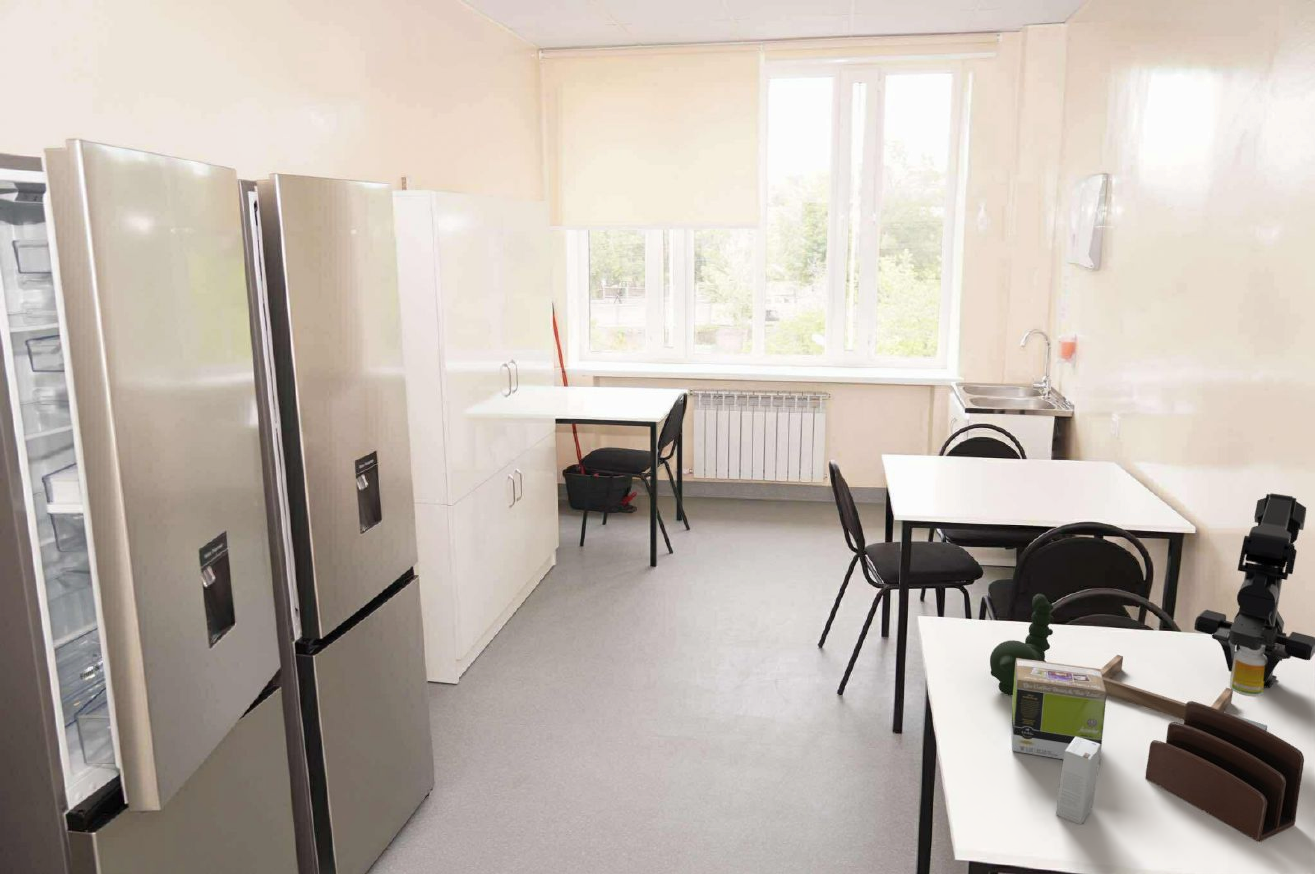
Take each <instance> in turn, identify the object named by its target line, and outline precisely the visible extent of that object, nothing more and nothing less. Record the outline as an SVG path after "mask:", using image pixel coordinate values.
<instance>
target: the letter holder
mask: <svg viewBox="0 0 1315 874" xmlns="http://www.w3.org/2000/svg"><path fill="white" fill-rule="evenodd" d="M1228 713H1229V712H1226V711H1225V712H1223V711H1220V710H1218V709H1215V708H1212V707H1211V706H1210V705H1206V704H1202V703H1200V702H1197V701H1193V700H1189V701H1187V702H1186V707H1185V717H1184V720H1183V723H1181V722H1179V721H1171V722H1170V723H1168V725H1167V732H1166V737H1165V738H1166V740H1165V742H1163V741H1160V740H1157V739H1156V740H1152V741H1151V742H1150V744H1149V750H1148V756H1147V757H1148V758H1147V764H1146V769H1145V776H1144V777H1145V779H1146V780H1148V781H1149V782H1151V783H1153V784H1155V785H1156V786H1159V787H1160V788H1162V789H1164V790H1165V791H1167V792H1169V793H1171V794H1173V795H1174V796H1176V797H1178V798H1179V799H1181V800H1183V801H1185V802H1187V803H1188V804H1190V805H1192V806H1194V807H1195V808H1197V809H1199V810H1201V811H1202V812H1205V813H1207V814H1208V815H1210V816H1211V817H1214V818H1215V819H1217V820H1219V821H1220V822H1221V823H1222V822H1223V823H1224V824H1226V825H1227V826H1229V827H1232V828H1233V829H1235V830H1237V831H1238V832H1240V833H1242V834H1244V835H1246V836H1247V837H1249V838H1251V839H1252V840H1254V841H1256V842H1258V843H1261V842H1263V841H1264V840H1266V839H1269V838H1271V837H1272V836H1273V837H1274V836H1275V835H1277V834H1278V833H1282V832H1283V831H1285V830H1288V829H1289V828H1292V827H1293V826H1295V823H1296V819H1297V812H1298V803H1299V797H1300V790H1301V785H1302V784H1301V783H1302V777H1303V772H1304V771H1303V770H1304V766H1305V765H1304V764H1305V756H1304V754H1303V753H1302V751H1301V750H1300V749H1298V748H1297V747H1295V746H1294V745H1292V744H1290V743H1288V742H1287V741H1285V740H1284V739H1282V738H1280V737H1278V736H1276V735H1274V734H1273V733H1271V732H1269V731H1268V730H1267V731H1265V730H1263V729H1261V728H1259V727H1257V726H1255V725H1253V724H1251V723H1249V722H1247V721H1244V720H1242V719H1240V718H1237V717H1235V716H1233V715H1234V714H1233V715H1230V714H1231V713H1229V714H1228Z"/></svg>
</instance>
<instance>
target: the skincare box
mask: <svg viewBox="0 0 1315 874" xmlns="http://www.w3.org/2000/svg"><path fill="white" fill-rule="evenodd" d="M1100 751H1101V752H1102V746H1101V744H1099V743H1096V742H1093V741H1089V740H1086V739H1083V738H1080V737H1075V738H1074V739H1073V740H1072V742H1071V743H1070V745H1069V746H1068V747H1067V749H1066V750H1065V752H1064V759H1062V761H1063V762H1062V767H1061V771H1060V772H1061V774H1060V781H1059V790H1058V796H1057V802H1056V809H1055V815H1057V816H1059V817H1060V818H1063V819H1065V820H1068V821H1070V822H1074V823H1076V824H1079V825H1083V823H1084V821H1085V819H1086V818H1087V816H1088V815H1089V813H1090V812H1091V811H1092V809H1093V806H1094V800H1095V793H1096V788H1097V787H1096V786H1097V779H1098V770H1099V766H1100V764H1099V759H1100V760H1101V756H1100Z"/></svg>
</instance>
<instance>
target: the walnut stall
mask: <svg viewBox="0 0 1315 874" xmlns="http://www.w3.org/2000/svg"><path fill="white" fill-rule="evenodd" d="M1123 662H1124V656H1123V655H1119V654H1116V655H1115V656H1114V657H1113V658H1112V659H1111V660H1109V661H1108V662H1107V663H1106V664H1105V665H1104V666H1103V667H1102V668H1099V669H1100V672H1101V675H1102V679H1103V683H1104V686H1105V690H1106V696H1107V695H1108V696H1110V697H1114V698H1117V699H1119V700H1122V701H1126V702H1128V703H1131V704H1134V705H1137V706H1140V707H1142V708H1147V709H1149V710H1153V711H1156V712H1159V713H1161V714H1164V715H1168V716H1171V717H1174V718H1176V719H1179V720H1182V721H1184V717H1185V707H1186V704H1187V702H1186V703H1185V702H1182V701H1180V700H1176V699H1173V698H1171V697H1167V696H1164V695H1160V694H1157V693H1154V692H1151V691H1149V690H1145V689H1142V688H1138V687H1135V686H1133V685H1130V684H1126V683H1124V682H1123V683H1122V682H1121V681H1120V682H1119V681H1117V680H1114V679H1113V678H1114V677H1115V676H1116V675H1117V674H1118V673H1119V672H1120V671H1122V668H1123ZM1233 694H1234V691H1233V690H1232V689H1231V688H1230V687H1225V689H1224V690H1223V691H1222V693H1220V695H1219V696H1218V698H1216V700H1215V701H1214V702H1213V703H1212V704H1211V706H1210V707H1212V708H1215V709H1218V710H1220V711H1223V712H1225V713H1226V710H1227V709H1228V708H1229V707H1228V706H1230V705H1231V704H1232V701H1233V700H1232V699H1233Z"/></svg>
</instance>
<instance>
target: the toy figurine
mask: <svg viewBox="0 0 1315 874" xmlns="http://www.w3.org/2000/svg"><path fill="white" fill-rule="evenodd" d="M1031 604H1032V606H1031V607H1032V608H1033V610H1034V611H1033V613H1032V614H1031V623H1030V624H1029V627H1028V634H1027V636H1026V637H1025V640H1024V641H1025V642H1022V641H1019V640H1013V639H1012V640H1011V639H1010V640H1005V641H1003V642H1001V643H999V644H998V645H996V647H995V648H994V649H993V650H992V652H991V654H990V657H989V666H990V675H991V676H992V677H994V678H996V680H998V681H999V683H998V690H999V691H1000V692H1001V693H1002V694H1004V695H1007V696H1010V697H1013V687H1014V674H1015V662H1016V658H1020V659H1026V660H1035V661H1043V662H1047V661H1046V660H1045V659H1046V653H1045V652H1046V651H1048V650H1049V649H1050V648H1051V645H1050V643H1049V640H1048V638H1049V636H1052V635H1054V632H1053V631H1054V630H1053V629H1052V628H1050V627H1049V625H1050V623H1052V622H1054V620H1055V618H1054V616H1053V615H1051V614H1050V613H1051V612H1052V611H1053V610H1054V607H1055V606H1054V604H1051V603H1050V602H1049V601H1048V599H1047V597H1046V596H1045V595H1044V594H1042V593H1037V594H1035V595H1034V596H1033V597H1032V602H1031Z"/></svg>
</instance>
